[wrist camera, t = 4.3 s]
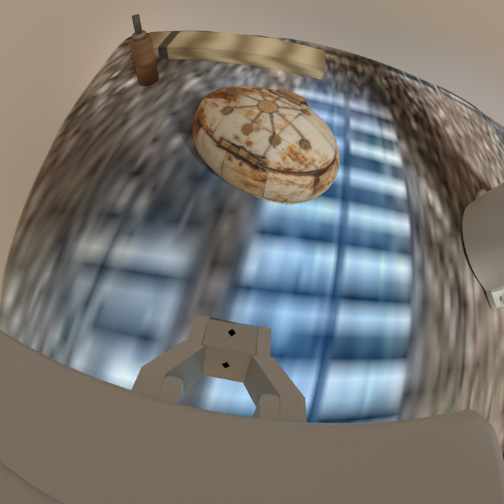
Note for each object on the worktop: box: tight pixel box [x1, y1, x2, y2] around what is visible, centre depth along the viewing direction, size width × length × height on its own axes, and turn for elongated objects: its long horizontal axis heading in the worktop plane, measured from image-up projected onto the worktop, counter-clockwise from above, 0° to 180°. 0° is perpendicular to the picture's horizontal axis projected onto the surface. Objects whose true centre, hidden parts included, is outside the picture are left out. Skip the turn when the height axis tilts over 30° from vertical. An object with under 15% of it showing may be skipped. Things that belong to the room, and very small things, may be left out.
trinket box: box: [193, 86, 340, 204], centre depth 26 cm, size 13×15×8 cm
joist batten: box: [149, 31, 325, 80], centre depth 35 cm, size 30×6×2 cm, turn 80°
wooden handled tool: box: [129, 14, 159, 86], centre depth 28 cm, size 3×3×12 cm
